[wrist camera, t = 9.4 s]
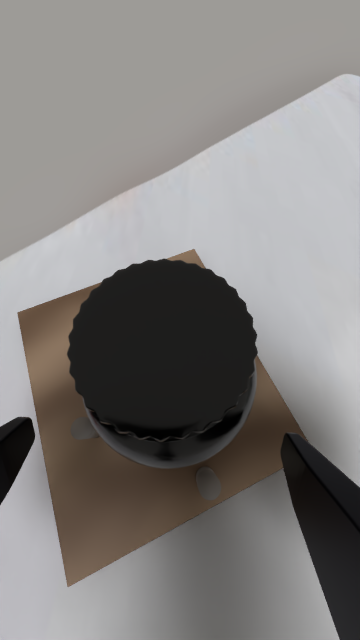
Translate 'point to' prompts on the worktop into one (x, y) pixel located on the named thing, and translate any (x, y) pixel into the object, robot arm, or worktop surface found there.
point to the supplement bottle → (164, 362)
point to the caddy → (120, 473)
